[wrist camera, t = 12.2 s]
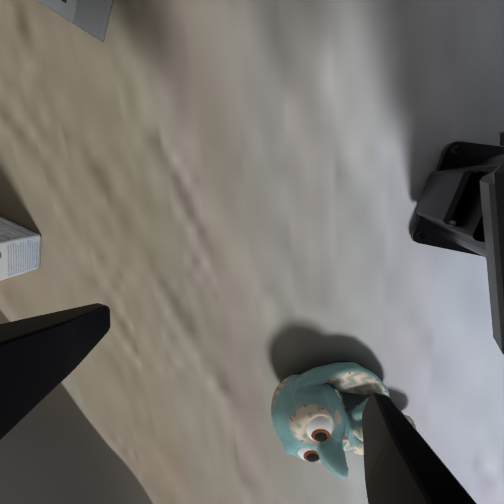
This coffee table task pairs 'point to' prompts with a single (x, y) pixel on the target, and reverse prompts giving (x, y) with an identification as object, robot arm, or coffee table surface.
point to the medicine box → (17, 249)
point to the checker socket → (83, 14)
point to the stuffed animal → (323, 413)
